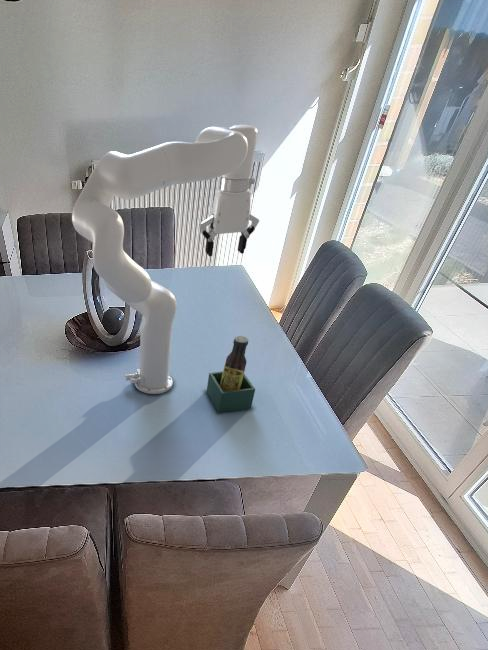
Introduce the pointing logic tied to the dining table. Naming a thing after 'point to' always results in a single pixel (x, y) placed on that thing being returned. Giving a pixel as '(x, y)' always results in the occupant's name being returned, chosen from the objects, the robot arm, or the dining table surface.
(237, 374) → the sauce bottle
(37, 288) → the dining table surface
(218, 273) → the dining table surface
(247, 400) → the dark green storage bin
